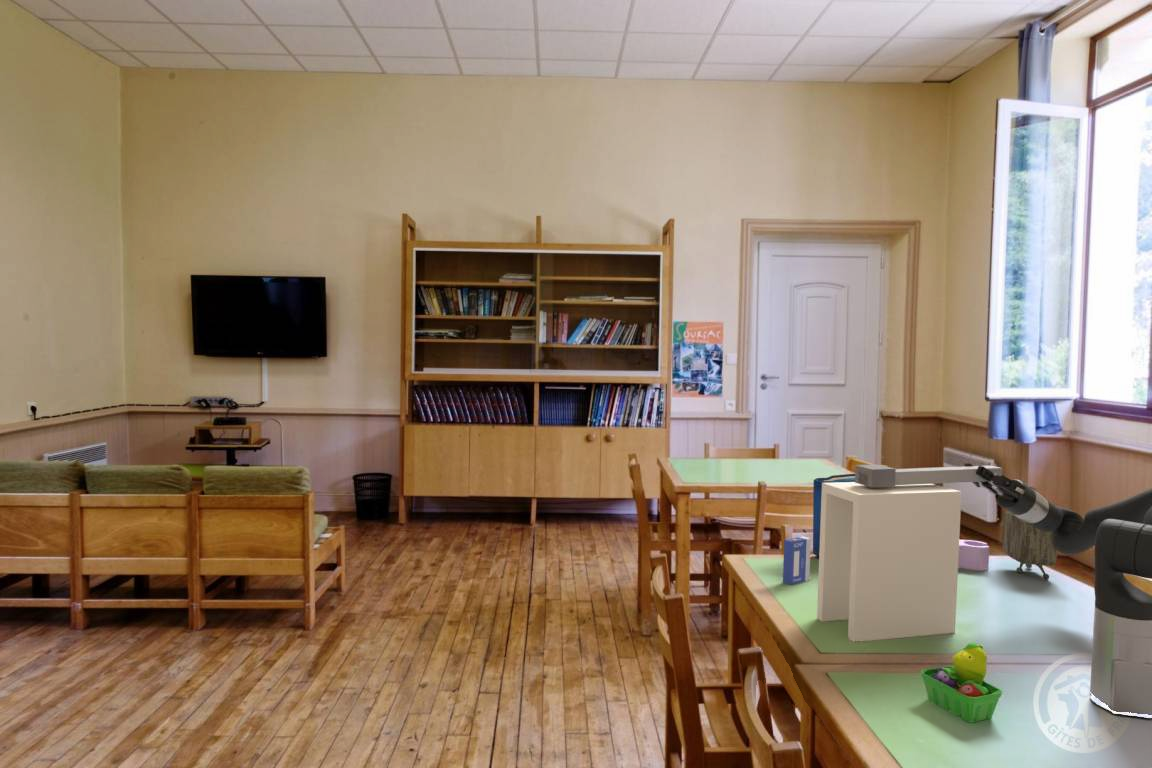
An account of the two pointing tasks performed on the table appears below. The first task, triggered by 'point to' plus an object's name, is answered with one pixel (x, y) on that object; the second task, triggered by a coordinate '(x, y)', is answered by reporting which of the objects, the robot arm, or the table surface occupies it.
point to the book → (817, 504)
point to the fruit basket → (963, 685)
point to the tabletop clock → (1027, 543)
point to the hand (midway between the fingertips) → (971, 468)
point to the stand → (889, 559)
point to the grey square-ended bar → (917, 475)
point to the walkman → (796, 560)
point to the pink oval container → (973, 555)
